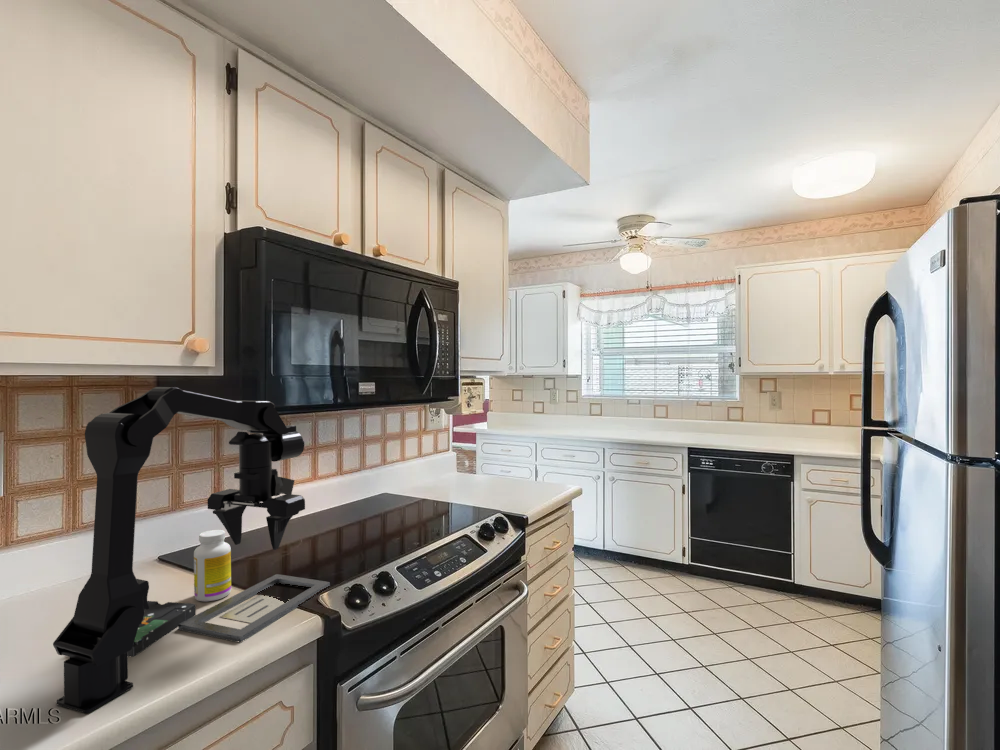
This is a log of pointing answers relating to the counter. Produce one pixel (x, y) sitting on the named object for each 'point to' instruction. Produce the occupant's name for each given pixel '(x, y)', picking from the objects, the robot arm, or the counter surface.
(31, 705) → the counter surface
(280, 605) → the label panel
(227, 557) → the supplement bottle
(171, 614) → the disk drive
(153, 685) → the counter surface
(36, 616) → the counter surface
